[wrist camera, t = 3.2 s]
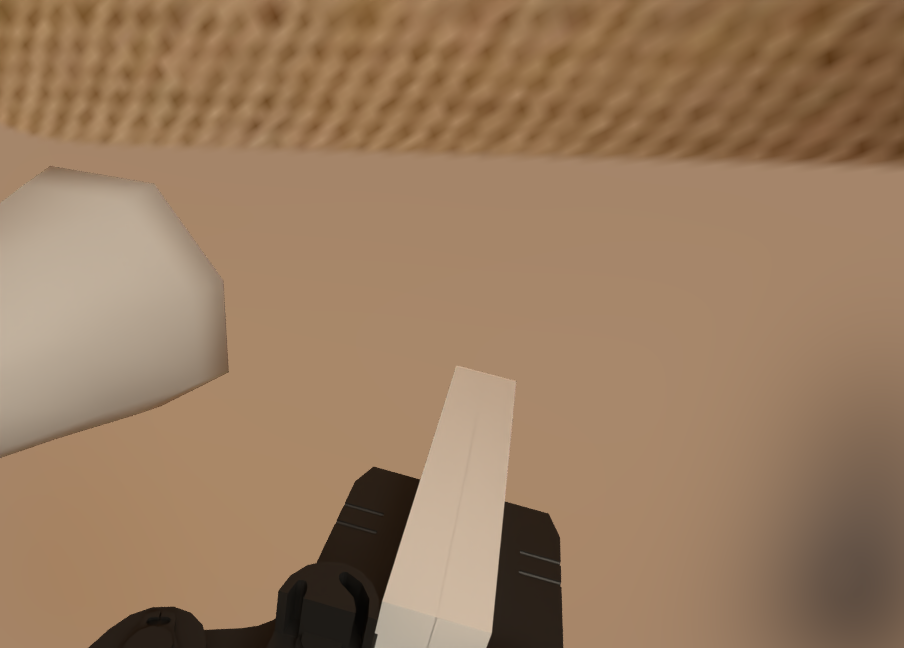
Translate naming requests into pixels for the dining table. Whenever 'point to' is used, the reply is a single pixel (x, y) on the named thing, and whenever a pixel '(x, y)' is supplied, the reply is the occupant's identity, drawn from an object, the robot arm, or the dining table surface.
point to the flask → (99, 306)
